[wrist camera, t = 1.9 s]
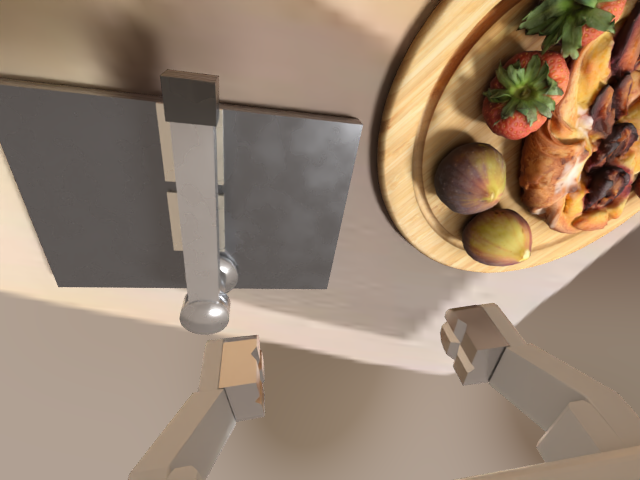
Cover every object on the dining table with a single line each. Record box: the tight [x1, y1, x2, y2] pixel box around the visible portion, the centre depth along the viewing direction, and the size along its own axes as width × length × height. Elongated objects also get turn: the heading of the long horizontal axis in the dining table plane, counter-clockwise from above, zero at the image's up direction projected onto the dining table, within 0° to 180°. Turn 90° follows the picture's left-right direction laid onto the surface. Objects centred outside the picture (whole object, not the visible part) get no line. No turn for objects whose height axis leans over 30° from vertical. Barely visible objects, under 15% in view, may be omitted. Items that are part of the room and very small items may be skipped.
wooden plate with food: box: [377, 0, 640, 273], centre depth 28 cm, size 32×32×8 cm
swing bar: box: [160, 69, 230, 335], centre depth 25 cm, size 21×4×2 cm, turn 171°
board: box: [0, 78, 363, 293], centre depth 29 cm, size 18×26×5 cm
